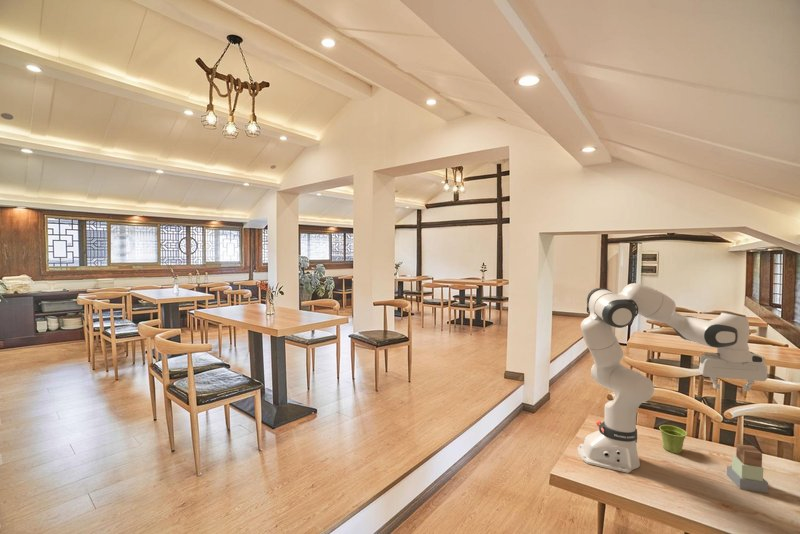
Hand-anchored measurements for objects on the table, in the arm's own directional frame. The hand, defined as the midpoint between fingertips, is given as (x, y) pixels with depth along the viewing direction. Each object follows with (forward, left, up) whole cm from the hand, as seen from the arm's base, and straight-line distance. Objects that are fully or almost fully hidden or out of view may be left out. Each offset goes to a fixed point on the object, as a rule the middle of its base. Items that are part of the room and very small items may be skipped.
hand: (731, 389), depth 137 cm
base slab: (+1, -9, -32) cm, 33 cm away
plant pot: (-15, +10, -32) cm, 37 cm away
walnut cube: (+1, -9, -23) cm, 25 cm away
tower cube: (+1, -9, -28) cm, 30 cm away
